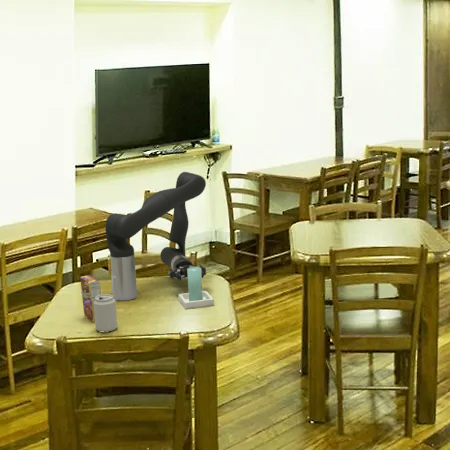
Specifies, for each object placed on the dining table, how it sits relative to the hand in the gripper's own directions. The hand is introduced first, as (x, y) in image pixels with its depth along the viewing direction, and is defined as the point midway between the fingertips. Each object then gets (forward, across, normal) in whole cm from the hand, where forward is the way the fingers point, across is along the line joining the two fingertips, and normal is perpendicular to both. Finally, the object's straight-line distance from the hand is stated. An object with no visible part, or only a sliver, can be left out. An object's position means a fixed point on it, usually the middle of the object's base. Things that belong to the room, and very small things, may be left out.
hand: (191, 276), depth 295 cm
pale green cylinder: (+7, 0, +8) cm, 10 cm away
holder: (+7, 0, +8) cm, 11 cm away
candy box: (+9, -39, +9) cm, 41 cm away
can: (+22, -36, +9) cm, 43 cm away
